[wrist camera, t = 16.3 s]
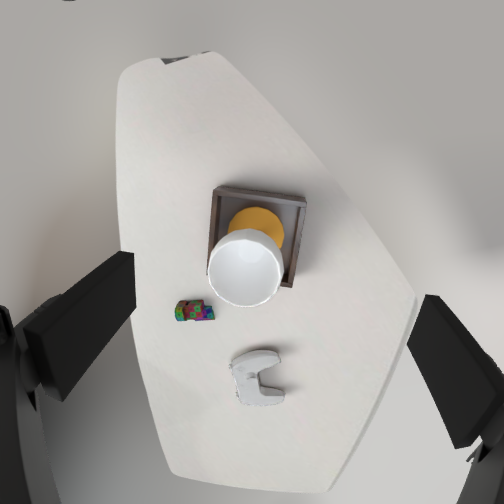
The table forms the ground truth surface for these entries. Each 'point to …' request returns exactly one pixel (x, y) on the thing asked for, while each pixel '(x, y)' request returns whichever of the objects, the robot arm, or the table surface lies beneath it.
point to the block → (193, 311)
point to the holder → (283, 206)
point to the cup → (248, 259)
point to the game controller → (255, 378)
